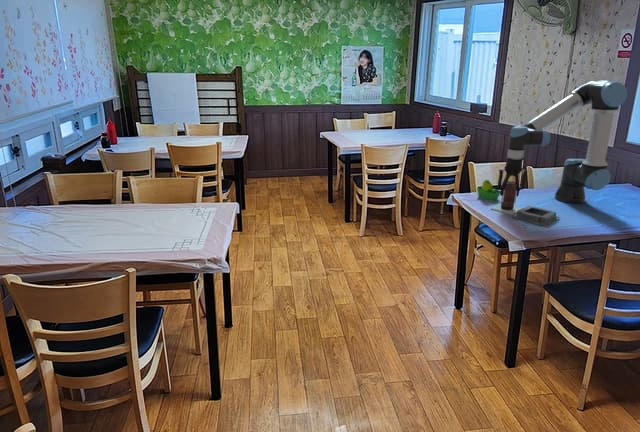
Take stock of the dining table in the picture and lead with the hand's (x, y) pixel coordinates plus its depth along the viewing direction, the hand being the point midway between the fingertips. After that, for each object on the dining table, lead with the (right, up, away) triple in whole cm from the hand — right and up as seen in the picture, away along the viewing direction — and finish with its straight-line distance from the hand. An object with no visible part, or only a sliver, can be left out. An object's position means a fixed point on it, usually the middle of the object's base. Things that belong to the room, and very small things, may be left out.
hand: (508, 201), depth 236 cm
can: (0, -4, +1) cm, 4 cm away
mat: (0, -4, +1) cm, 4 cm away
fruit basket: (-4, +2, +20) cm, 20 cm away
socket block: (+9, -9, -11) cm, 17 cm away
